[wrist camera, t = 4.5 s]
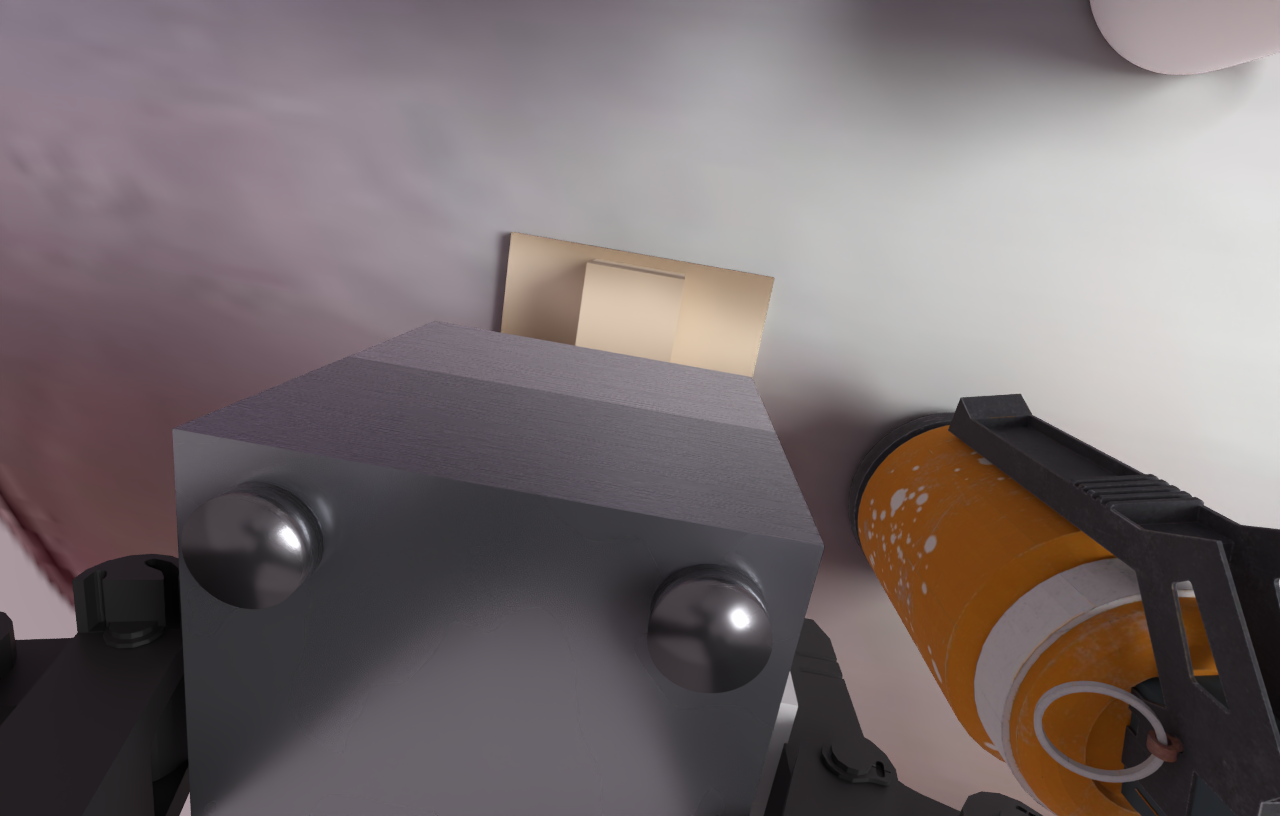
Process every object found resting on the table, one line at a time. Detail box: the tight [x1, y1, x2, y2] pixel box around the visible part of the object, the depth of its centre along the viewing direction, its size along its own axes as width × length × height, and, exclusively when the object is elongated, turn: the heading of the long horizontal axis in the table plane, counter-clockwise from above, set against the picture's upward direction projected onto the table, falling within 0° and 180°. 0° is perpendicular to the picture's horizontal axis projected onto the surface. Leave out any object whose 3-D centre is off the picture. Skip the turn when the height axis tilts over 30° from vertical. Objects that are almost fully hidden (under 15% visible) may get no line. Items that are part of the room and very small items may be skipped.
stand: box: [501, 232, 774, 378], centre depth 29 cm, size 12×12×4 cm
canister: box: [848, 394, 1280, 816], centre depth 22 cm, size 9×11×20 cm
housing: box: [173, 321, 825, 816], centre depth 11 cm, size 9×6×7 cm
